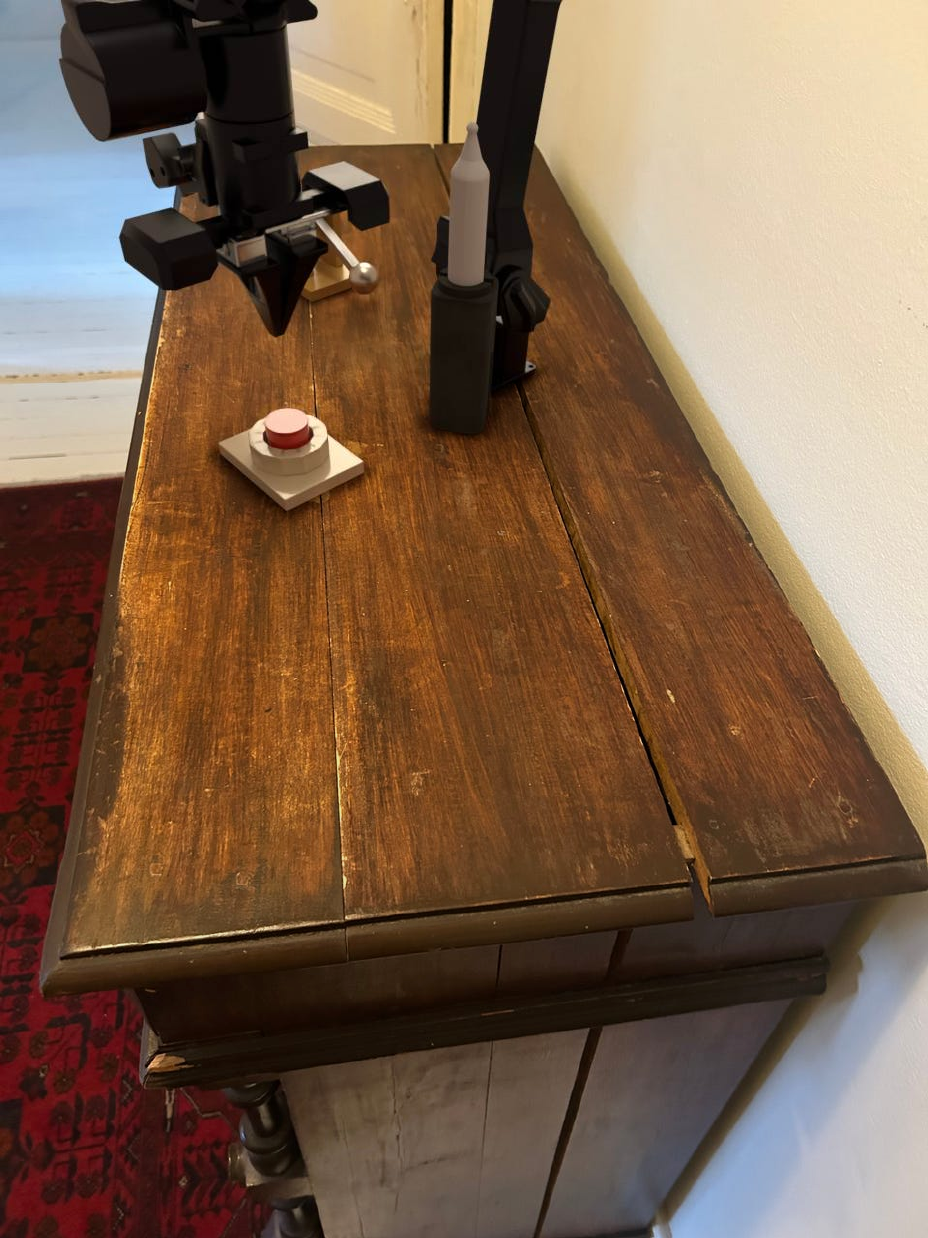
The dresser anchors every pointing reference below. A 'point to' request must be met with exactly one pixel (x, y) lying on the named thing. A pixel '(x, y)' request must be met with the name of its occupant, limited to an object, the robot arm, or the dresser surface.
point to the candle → (464, 304)
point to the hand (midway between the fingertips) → (276, 334)
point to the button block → (292, 463)
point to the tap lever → (349, 261)
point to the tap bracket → (327, 270)
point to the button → (287, 429)
